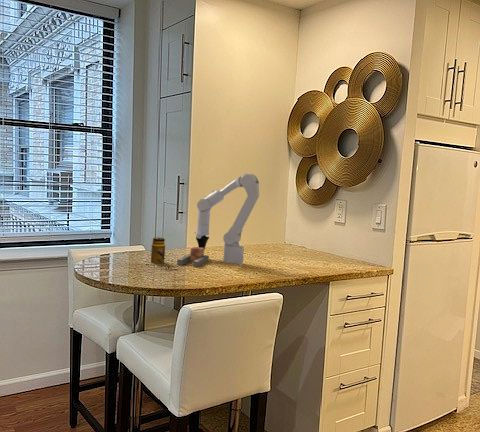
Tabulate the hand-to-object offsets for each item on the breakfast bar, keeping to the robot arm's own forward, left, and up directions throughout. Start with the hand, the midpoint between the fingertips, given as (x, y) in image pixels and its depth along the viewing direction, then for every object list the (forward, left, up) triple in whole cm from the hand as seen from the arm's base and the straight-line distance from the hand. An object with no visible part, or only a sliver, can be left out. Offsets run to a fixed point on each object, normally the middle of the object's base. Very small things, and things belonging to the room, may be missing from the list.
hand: (201, 251), depth 236 cm
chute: (0, +13, -4) cm, 13 cm away
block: (0, +7, -3) cm, 8 cm away
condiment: (+15, +22, -4) cm, 27 cm away
